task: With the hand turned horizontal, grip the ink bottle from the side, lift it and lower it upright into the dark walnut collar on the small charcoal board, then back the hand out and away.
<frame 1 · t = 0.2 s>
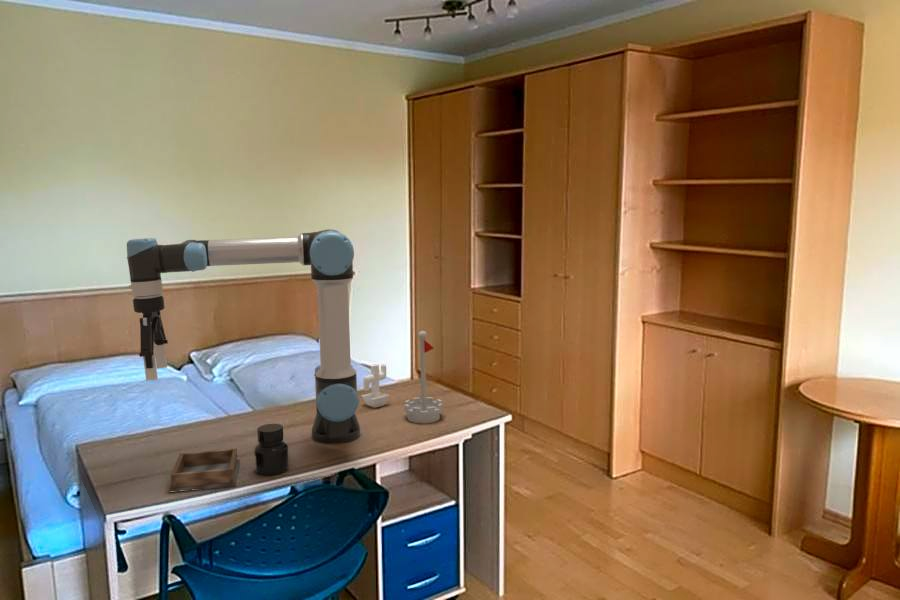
hand: (157, 373, 181), 27 cm above the table, tool pointing down, fingers open, 13 cm apart
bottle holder: (206, 477, 179), on the table
figurine: (375, 405, 240), on the table
ink bottle: (272, 470, 184), on the table
flag stand: (423, 418, 226), on the table
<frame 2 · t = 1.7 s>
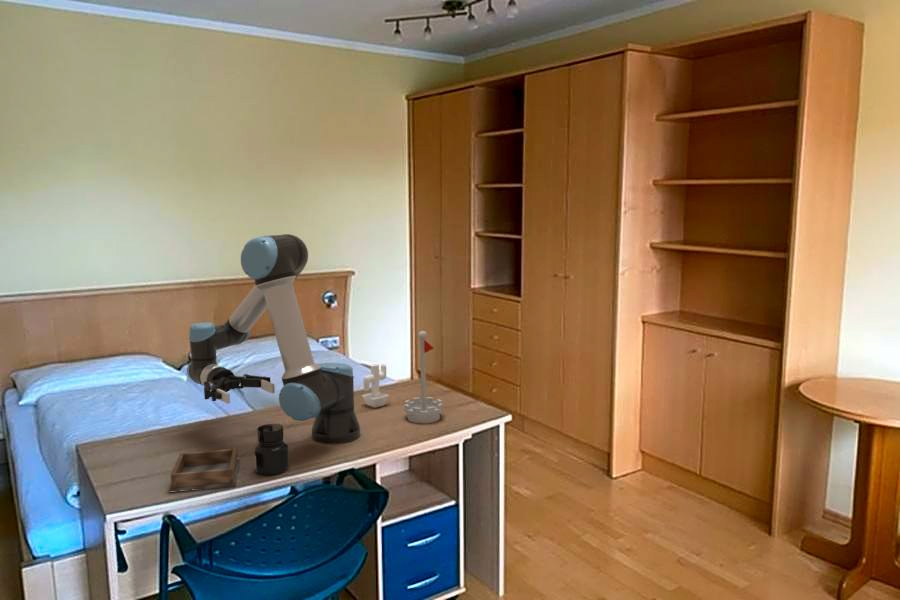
hand: (251, 393, 188), 19 cm above the table, tool horizontal, fingers open, 13 cm apart
nothing on the table moved.
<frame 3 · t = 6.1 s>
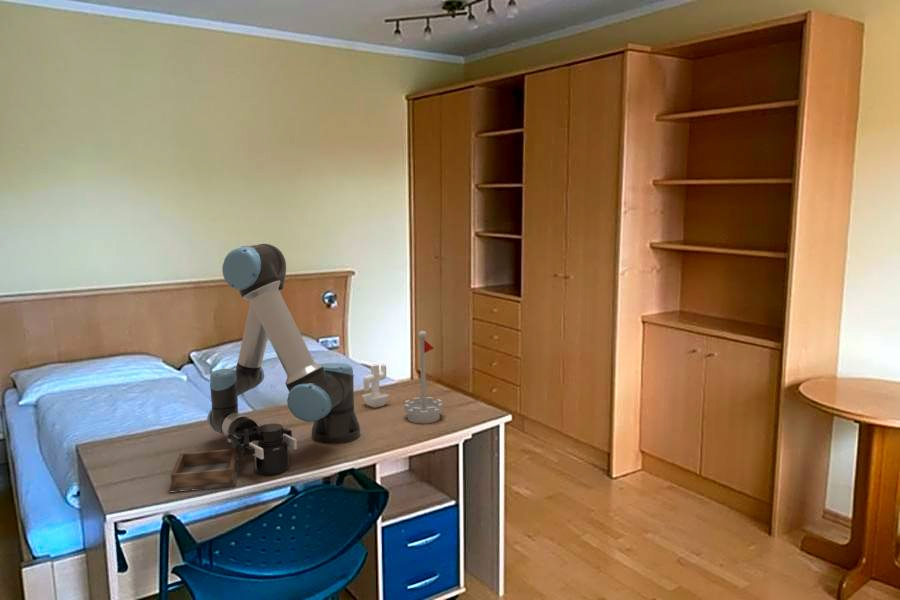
hand: (279, 449, 179), 7 cm above the table, tool horizontal, fingers closed on ink bottle, 9 cm apart
ink bottle: (272, 470, 184), on the table, touching gripper
everything else where it was.
when the fingers open (9 cm above the table, at t = 11.1 s): ink bottle drops 1 cm, resting on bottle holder.
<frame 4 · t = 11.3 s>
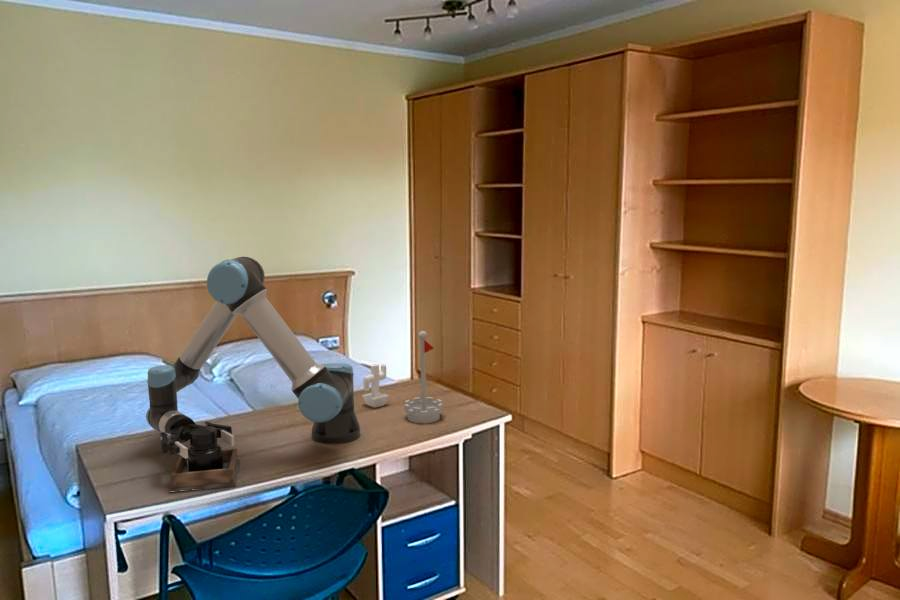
hand: (210, 447, 175), 9 cm above the table, tool horizontal, fingers open, 12 cm apart
ink bottle: (206, 474, 179), point 1 cm above the table, touching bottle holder
everything else where it was.
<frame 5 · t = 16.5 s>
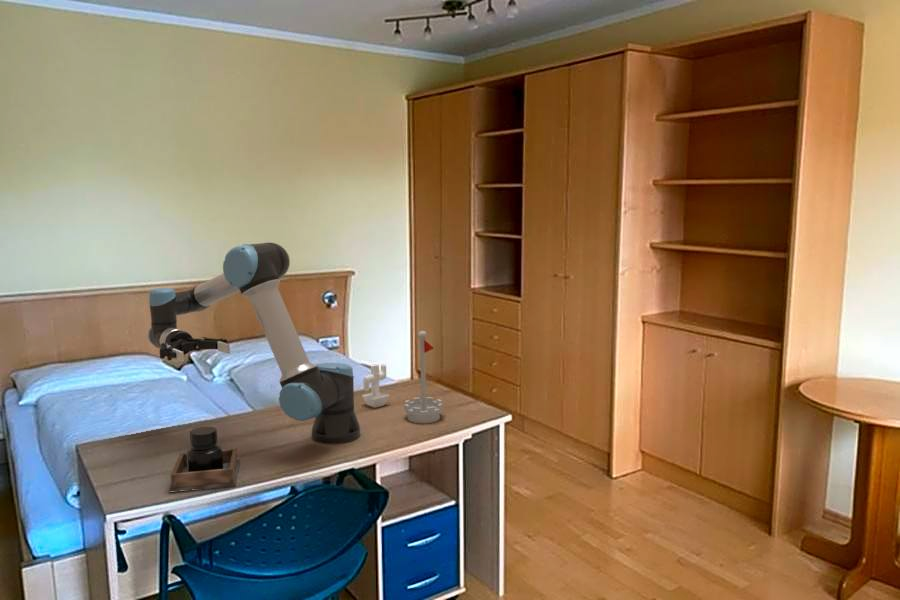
hand: (206, 353, 192), 30 cm above the table, tool horizontal, fingers open, 13 cm apart
nothing on the table moved.
at the end: ink bottle 0.1 cm off-centre on the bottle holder, point 0.8 cm above the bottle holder's base; ink bottle tilted 0°; the gripper is holding nothing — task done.
